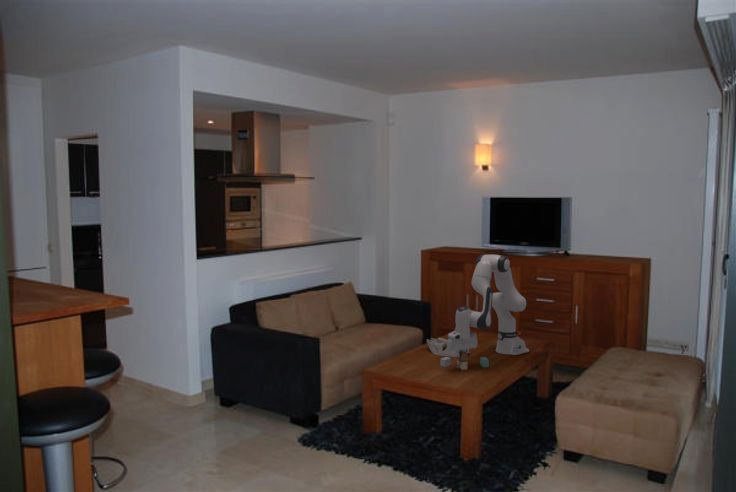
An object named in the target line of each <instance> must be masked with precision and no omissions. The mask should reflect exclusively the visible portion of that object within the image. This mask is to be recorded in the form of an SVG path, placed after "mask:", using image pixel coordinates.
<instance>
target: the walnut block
mask: <svg viewBox="0 0 736 492" xmlns="http://www.w3.org/2000/svg"><path fill="white" fill-rule="evenodd" d="M459 354H461V357H457V358H456V359H457V360H462V361H468V359H469V358H468V357H469V356H468V354H469V353H467V352H464V351H462V350H459Z"/></svg>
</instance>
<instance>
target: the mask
mask: <svg viewBox="0 0 736 492" xmlns="http://www.w3.org/2000/svg"><path fill="white" fill-rule="evenodd" d="M447 340H448V339H446V338H443V337H437V338H433V337H430V339H426V343H427V346H428V348H429V350H430V352H431V353H432V354H434V355H436V356H440V357H449V358H451V359H452V358H453V359H457V353H456V351H449V350H448V349H447ZM444 348H445V349H444ZM461 351H464V352H465V351H466V350H465V349H464V350H461ZM470 353H471V352H470V351H469V352H468V354H469V355H470Z"/></svg>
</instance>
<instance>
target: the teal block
mask: <svg viewBox="0 0 736 492" xmlns="http://www.w3.org/2000/svg"><path fill="white" fill-rule="evenodd" d="M479 358H480V359H479V361H480V362H479V365H480V366H481V367H482V368H489V363H490V361H489V359H488V358H487V357H486V356H485V357H483V356H482V357H479Z"/></svg>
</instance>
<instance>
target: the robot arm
mask: <svg viewBox="0 0 736 492" xmlns="http://www.w3.org/2000/svg"><path fill="white" fill-rule="evenodd" d="M492 274H493V276H494V282H495V286H496V289H497V290H498V292H493V288H492V287H491V279H492ZM471 286H472V288H473V290H474V291H476V292H477V293H478V294H480V295H481V296H482V297H483V302H482V303H483V304H482V311H475V310H471V309H470V308H469V307H468V306H460V307H458V308H457V309H456V312H455V322H454V323H455V328H454V330H453V331H451V332H449V333H448V334H447V339H446V340H447V347H446V348H447V349H448V350H449V351H456V353H457V357H461V354H459V351H462V350H464V349H465V350H466V351H465V352H467V353H468V352H470V350H471V349H476V348H477V347H478V335H477V333H476V332H471V328H475V329H479V330H482V331H485V330H487V329H488V328H490V327H491V325H492V310H494V311H495V312H496V315H497V320H498V330H497V342H496V349H495V352H496V353H498V354H502V355H510V356H511V355H512V356H517V355H521V354H525V353H529V352H530V349H529V348H528V347H526V346H527V345H526V342H525V341H524V340H523V339H521V337H519V336H518V335H521V331H519V330H518V331H517V330H516V326H517V324H516V322H517V320H516V318H515V317H514V316H513V315H512V314H511V312H515V313H516V312H517V313H518V312H523V311H524V310H525V309H526V307H527V300H526V298H525V297H524V296H522V295H521V293H520V292H519V291H518V289H517V288H516V286H515V284H514V279H513V273H512V269H511V260H510V259H509V257H508V256H505V255H500V254H485V253H484V254H480V255H479V256H477V258H476V266H475V268H474V271H473V274H472V278H471ZM492 308H493V309H492ZM470 327H471V328H470ZM468 354H469V353H468Z"/></svg>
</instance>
